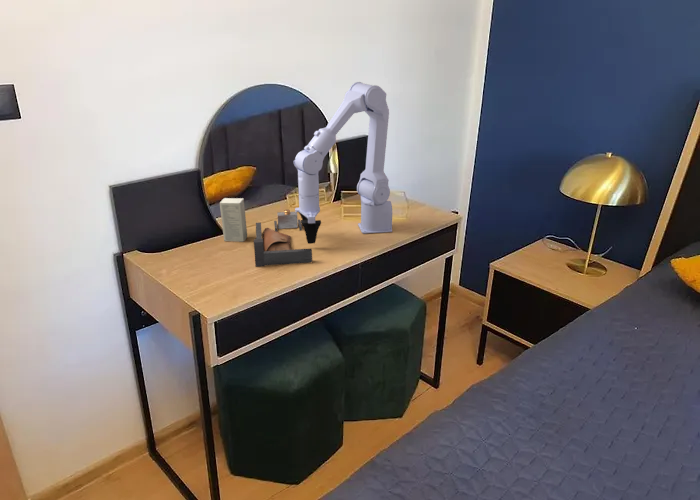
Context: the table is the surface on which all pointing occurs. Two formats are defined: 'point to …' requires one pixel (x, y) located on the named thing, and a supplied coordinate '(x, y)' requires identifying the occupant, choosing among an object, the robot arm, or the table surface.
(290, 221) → the silver metal block
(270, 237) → the sunglasses case
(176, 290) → the table surface
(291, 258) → the press frame
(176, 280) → the table surface
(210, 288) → the table surface
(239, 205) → the skincare box
